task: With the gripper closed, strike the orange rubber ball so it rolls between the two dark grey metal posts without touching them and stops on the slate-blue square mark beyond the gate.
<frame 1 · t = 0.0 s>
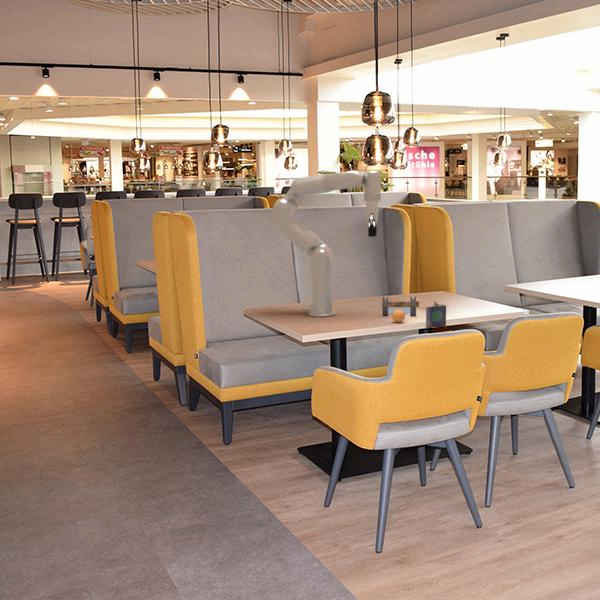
hand: (372, 235, 363), 37 cm above the table, tool pointing down, fingers open, 9 cm apart
flask: (435, 327, 336), on the table
stopper wall: (400, 306, 391), on the table
post right: (413, 316, 362), on the table
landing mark: (399, 311, 377), on the table
post left: (385, 316, 364), on the table
ball: (398, 316, 347), on the table
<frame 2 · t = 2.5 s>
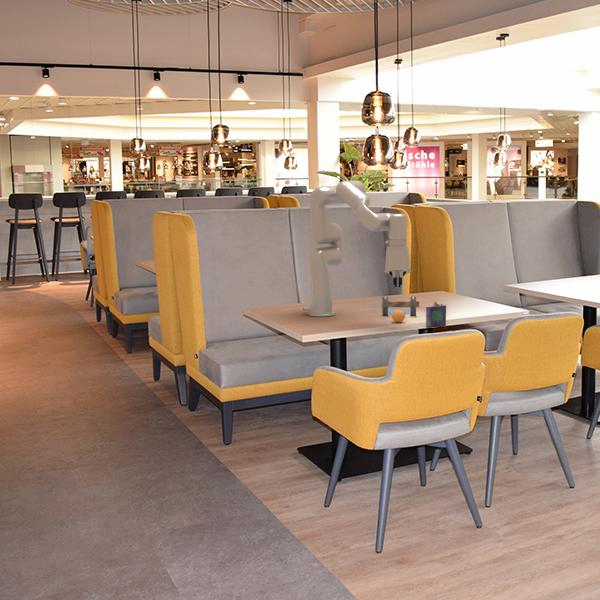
hand: (397, 286, 336), 17 cm above the table, tool pointing down, fingers closed
nothing on the table moved.
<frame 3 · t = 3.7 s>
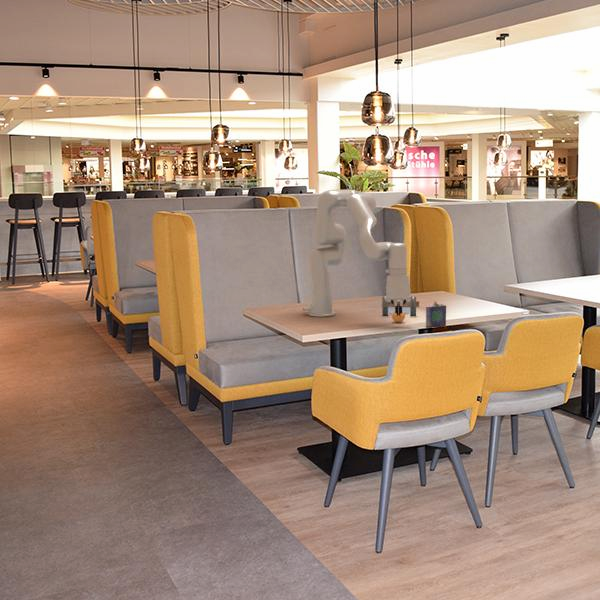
hand: (398, 315, 337), 5 cm above the table, tool pointing down, fingers closed
nothing on the table moved.
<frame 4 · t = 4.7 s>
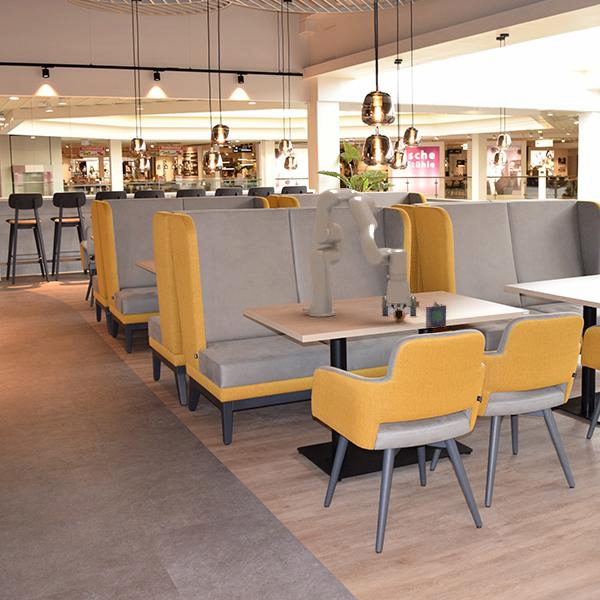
hand: (398, 319, 347), 2 cm above the table, tool pointing down, fingers closed
ball: (399, 314, 351), on the table
everything else where it was.
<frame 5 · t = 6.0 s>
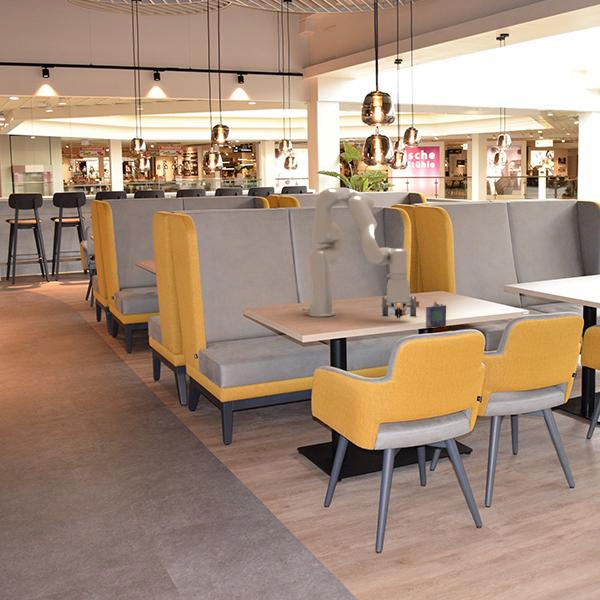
hand: (398, 317, 350), 2 cm above the table, tool pointing down, fingers closed
ball: (400, 308, 368), on the table
everything else where it was.
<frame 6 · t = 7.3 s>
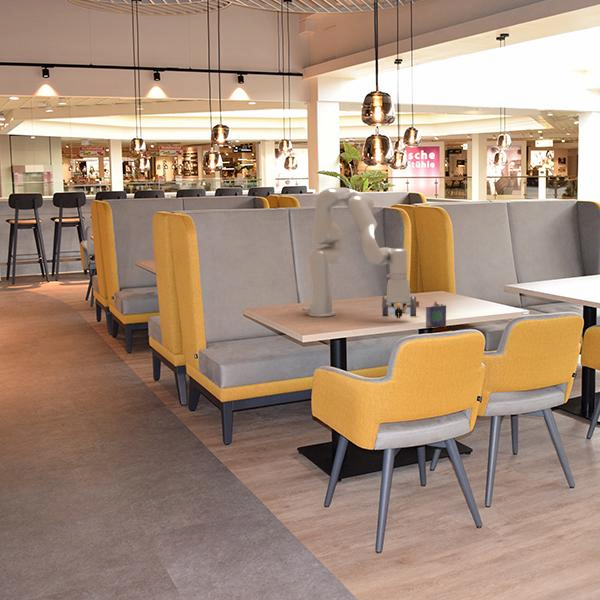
hand: (398, 317, 350), 2 cm above the table, tool pointing down, fingers closed
ball: (400, 306, 372), on the table
everything else where it was.
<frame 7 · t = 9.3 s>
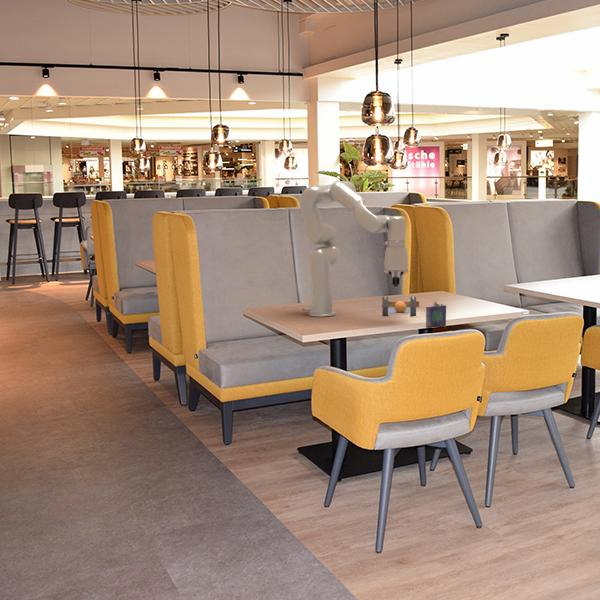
hand: (395, 286, 348), 16 cm above the table, tool pointing down, fingers closed
nothing on the table moved.
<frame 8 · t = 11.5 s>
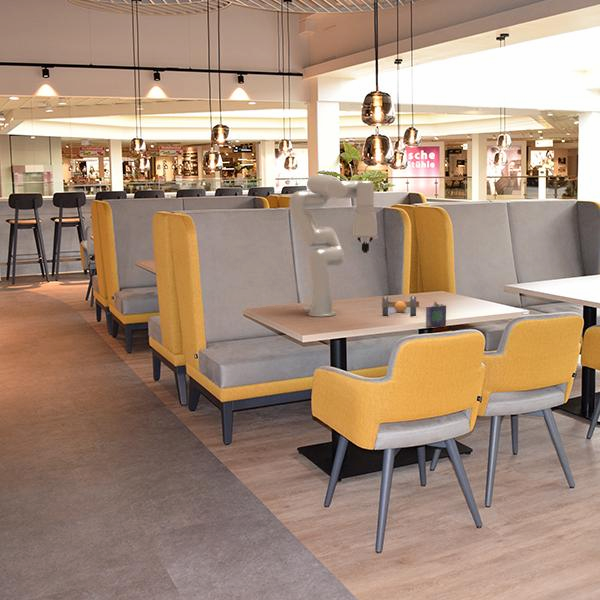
hand: (365, 252, 342), 31 cm above the table, tool pointing down, fingers closed
nothing on the table moved.
at the end: ball 4.6 cm from the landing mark (horizontally); ball never touched post left; ball never touched post right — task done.
